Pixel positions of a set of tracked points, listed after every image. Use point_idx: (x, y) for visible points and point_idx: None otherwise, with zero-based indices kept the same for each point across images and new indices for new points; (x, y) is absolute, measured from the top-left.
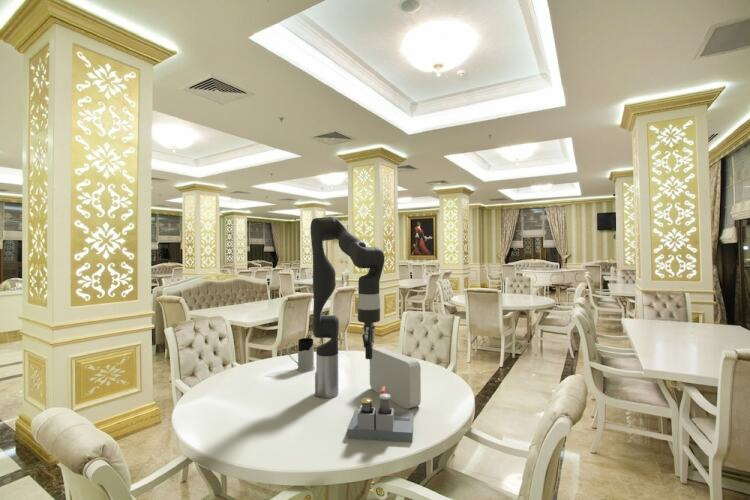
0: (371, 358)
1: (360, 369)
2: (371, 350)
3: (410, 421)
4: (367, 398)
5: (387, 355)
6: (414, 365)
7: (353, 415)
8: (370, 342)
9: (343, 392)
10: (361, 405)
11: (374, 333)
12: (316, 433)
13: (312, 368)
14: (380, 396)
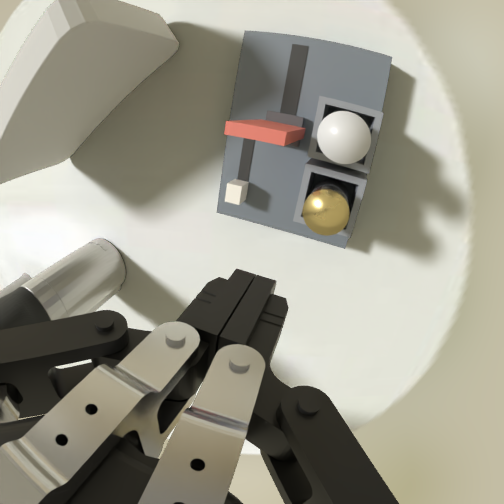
0: (274, 283)
1: (8, 185)
2: (250, 331)
3: (313, 45)
4: (310, 208)
5: (8, 127)
6: (77, 6)
7: (256, 221)
8: (386, 485)
9: (92, 225)
10: (228, 201)
11: (59, 432)
12: (305, 306)
13: (28, 278)
14: (351, 160)
